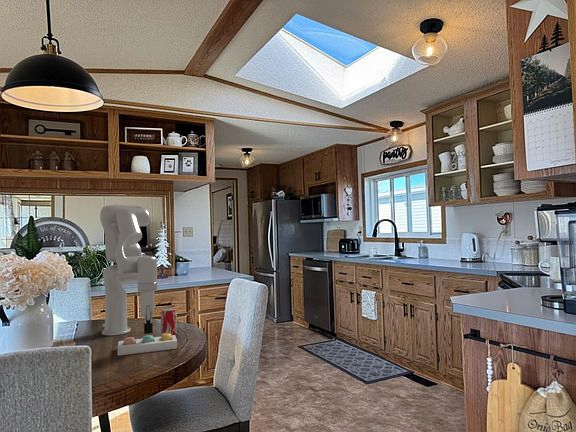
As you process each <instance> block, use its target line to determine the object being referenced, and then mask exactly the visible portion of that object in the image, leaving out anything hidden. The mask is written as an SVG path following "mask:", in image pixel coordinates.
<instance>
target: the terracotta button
mask: <svg viewBox="0 0 576 432" xmlns="http://www.w3.org/2000/svg"><path fill="white" fill-rule="evenodd" d="M123 341H124V345H130V344H135V337H134V336H129V337H128V336H127V337H124V338H123Z"/></svg>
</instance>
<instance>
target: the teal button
mask: <svg viewBox="0 0 576 432" xmlns="http://www.w3.org/2000/svg"><path fill="white" fill-rule="evenodd" d="M153 337H154V335H152V334H145V335H142V339H143V343H148V342H153Z"/></svg>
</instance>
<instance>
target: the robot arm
mask: <svg viewBox="0 0 576 432" xmlns="http://www.w3.org/2000/svg"><path fill="white" fill-rule="evenodd" d="M99 213H100V215H99V218H100V223H101V226H102V230H103V232H104V245H105V246H104V247H105V257H106V260H107V262H109V263H116V264H113V265H109V266H106V267H105V268H104V269H103V272H102V278H103V279H102V280H103V284H104V295H105V297H104V301H105V302H104V307H105V308H104V309H105V311H104V315H105V317H104V319H105V321H104V323H102V324H101V327H102V328H104V329H103V330H101V335H103V336H119V335H124V334H127V333H130V332H131V330H132V328H131V327H128V294H127V291H126V290H125V289H124V287H123V286H124V285H131V284H137V292H139V293H140V294H139V295H140V296H139V297H140V298H139V299H140V300H139V301H140V306H139V308H140V310H139V311H140V317H141V318H143V317H144V323H143V334H144V335H151V334H153V333H154V332H153V331H154V330H153V321H152V320H153V316H154V313H155V292H157V291H158V260H157V257H156V256H152V255H142V249H141V248H142V247H141V246H140V244H139V243H138V242H140V241H141V240H142V239H143V233H142V229H141V227H147V226H149V224H150V222H151V215H150V213H149V211H148V209H146V208H145V207H142V206H139V205H132V204H131V205H130V204H129V205H123V204H108V205H105V206H103V207H102V208H101V210H100V212H99Z"/></svg>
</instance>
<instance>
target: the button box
mask: <svg viewBox="0 0 576 432" xmlns="http://www.w3.org/2000/svg"><path fill="white" fill-rule="evenodd" d="M176 349H178V339H177V336H176V335H171V340H166V341H161V336H153V342H148V343H143V338H136V339H135V344H130V345H124V340H119V341H118V344H117V356H126V355H133V354H142V353H143V354H144V353H151V352H159V351H167V350H168V351H169V350H176Z"/></svg>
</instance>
